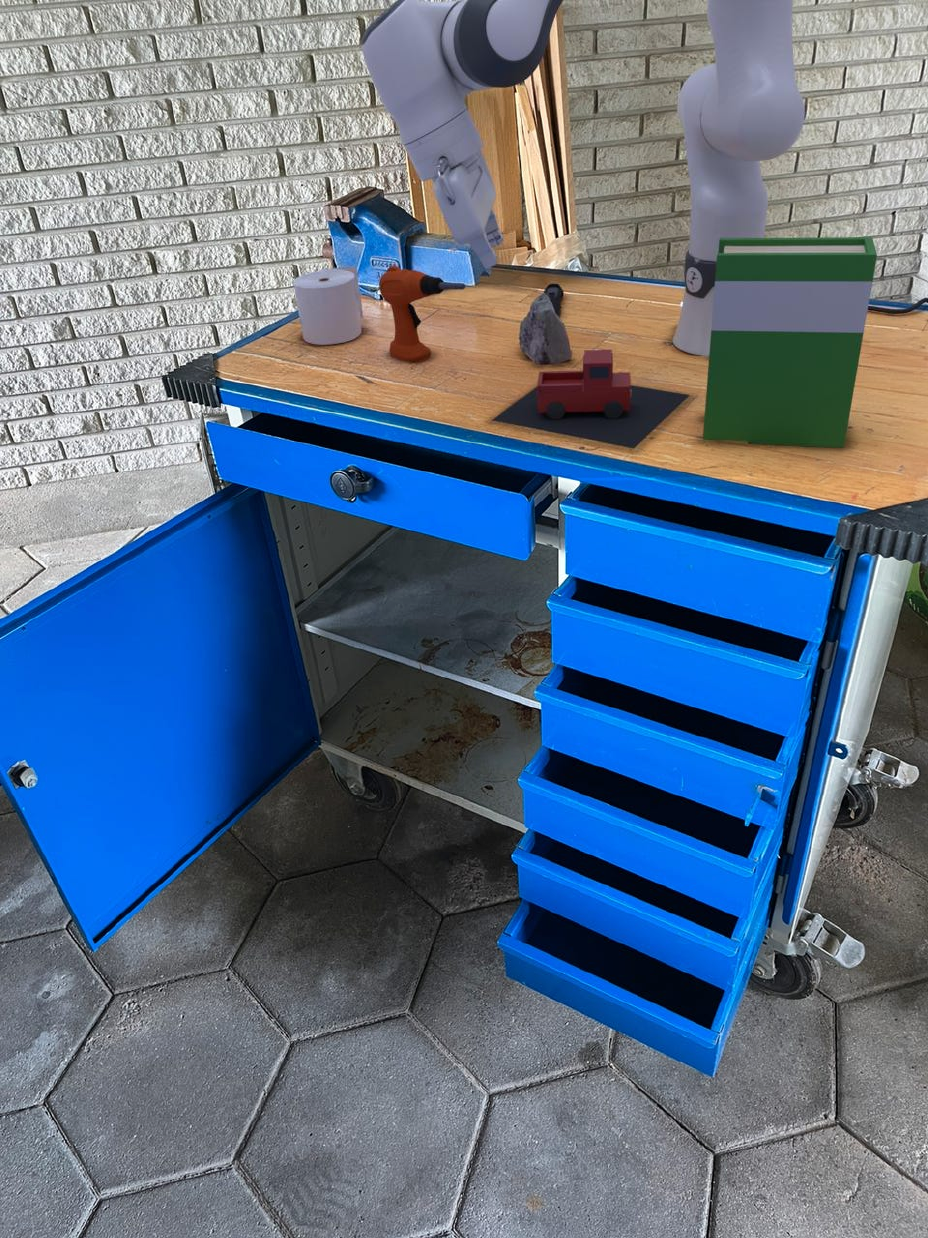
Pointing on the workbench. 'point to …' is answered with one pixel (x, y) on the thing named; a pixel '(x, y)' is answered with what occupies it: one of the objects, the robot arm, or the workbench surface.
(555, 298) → the electric trimmer
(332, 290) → the toilet tissue
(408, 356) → the toy drill
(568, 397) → the toy pickup truck
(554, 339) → the mineral rock
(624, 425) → the mat
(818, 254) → the hardback book
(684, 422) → the workbench surface
